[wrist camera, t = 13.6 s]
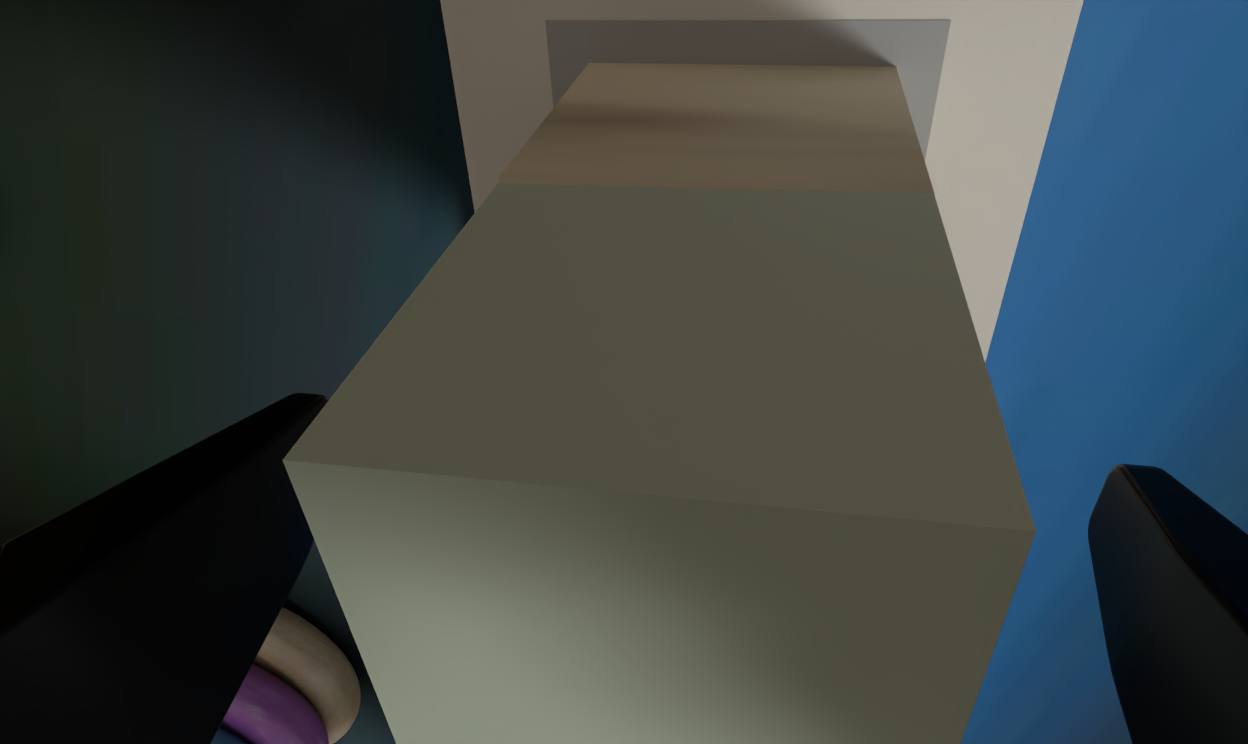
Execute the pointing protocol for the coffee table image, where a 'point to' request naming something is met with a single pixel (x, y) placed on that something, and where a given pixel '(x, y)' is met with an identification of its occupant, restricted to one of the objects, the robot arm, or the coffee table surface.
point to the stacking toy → (293, 690)
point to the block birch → (728, 130)
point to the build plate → (801, 35)
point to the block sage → (674, 476)
